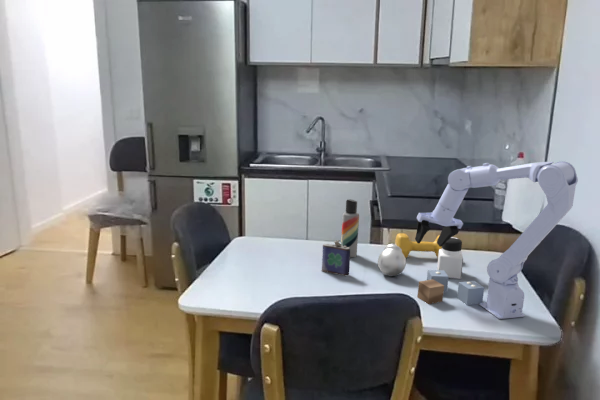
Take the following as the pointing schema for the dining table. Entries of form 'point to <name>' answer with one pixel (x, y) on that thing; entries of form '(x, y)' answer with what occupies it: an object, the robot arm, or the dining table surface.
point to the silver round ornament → (392, 260)
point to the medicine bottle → (451, 258)
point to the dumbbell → (416, 245)
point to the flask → (336, 258)
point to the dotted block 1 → (438, 277)
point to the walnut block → (430, 291)
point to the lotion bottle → (350, 227)
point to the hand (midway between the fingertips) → (428, 242)
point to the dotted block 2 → (470, 292)
